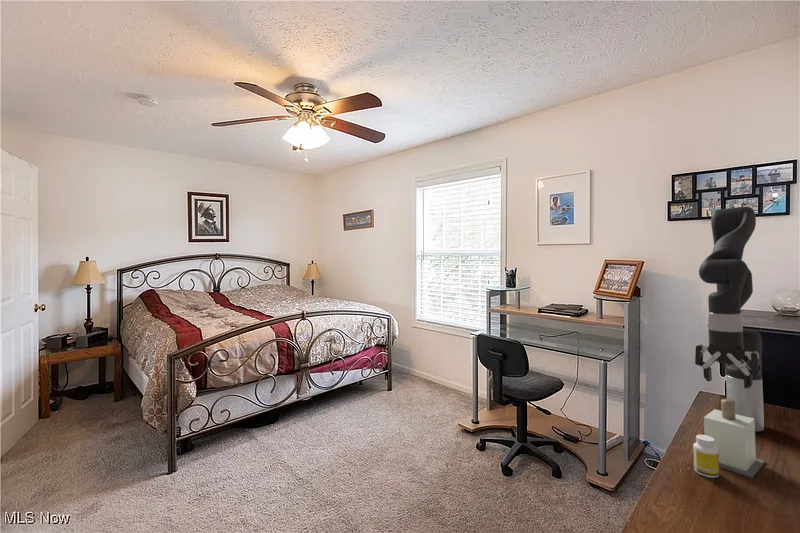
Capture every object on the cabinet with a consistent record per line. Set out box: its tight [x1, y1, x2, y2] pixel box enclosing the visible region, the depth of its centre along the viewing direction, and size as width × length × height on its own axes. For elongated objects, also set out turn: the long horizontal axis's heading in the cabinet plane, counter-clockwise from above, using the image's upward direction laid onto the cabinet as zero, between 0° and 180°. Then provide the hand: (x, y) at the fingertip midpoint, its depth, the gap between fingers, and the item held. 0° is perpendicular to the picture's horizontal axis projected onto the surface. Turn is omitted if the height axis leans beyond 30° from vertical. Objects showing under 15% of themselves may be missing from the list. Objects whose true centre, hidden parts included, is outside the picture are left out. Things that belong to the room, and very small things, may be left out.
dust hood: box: [703, 398, 757, 471], centre depth 108 cm, size 9×9×17 cm
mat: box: [719, 457, 765, 479], centre depth 108 cm, size 12×12×1 cm
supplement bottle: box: [692, 434, 720, 479], centre depth 103 cm, size 5×5×10 cm
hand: (727, 384), depth 108 cm, fingers open, 8 cm apart
